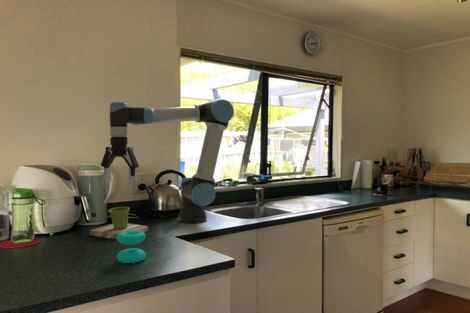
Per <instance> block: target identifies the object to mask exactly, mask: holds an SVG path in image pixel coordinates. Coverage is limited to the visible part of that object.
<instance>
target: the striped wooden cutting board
mask: <svg viewBox="0 0 470 313" xmlns="http://www.w3.org/2000/svg"><path fill="white" fill-rule="evenodd" d="M130 230H138V231H142V232H144V233H146V231H147V232H148V231H149V226H148V225H141V224H134V223H128V226H127V227H126V228H124V229H114V227H113V223H112V224H111V223H110V224H107V225H105V226H99V227H97V228H93V229H90V232H89V234H90V236H94V237H99V238H105V239H111V238H112V240H117V235H118V234H119V233H121V232H124V231H130Z"/></svg>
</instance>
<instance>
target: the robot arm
mask: <svg viewBox="0 0 470 313" xmlns="http://www.w3.org/2000/svg"><path fill="white" fill-rule="evenodd" d="M234 113H235V110H234V105H233V104H232V103H231V101H229V100H227V99H225V98H216V99H214V100H211V101H206V102H203V103H196V104H194V105H192V106H177V107H176V106H175V107H174V106H173V107H155V108H152V107H146V106H145V107H137V106H136V107H132V106H128V104H127V102H122V101H113V102H111V103H110V105H109V130H110V131H109V135H110V138H109V140H110V142H109V144H110V145H111V146H106V147H105V152H104V155H103V158H102V160H101V163H100V167H103V169H104V176H105V178H104V179H105V183H111V182H112V173H111V172H112V171H111V170H112V168H111V165H112V164H113V162H114V160H115V159H116V158H117V157H119V158H122V159H123V160H124V161H125V163H126V164H127V166H128V168H129V169H128V184H129V185H130V184H134V183H135V176H136V169H137V168H139V167H140V165H139V163H138V161H137V159H136V155H135V153H134V148H133V147H132V146H128V143H129V142H128V137H127V136H128V124H132V125H134V126H137V125H149V124H151V125H152V124H161V123H162V124H164V123H166V124H167V123H179V122H180V123H181V122H196V123H204V124H205V126H206V130H205V134H204V138H203V143H202V147H201V151H200V156H199V160H198V165H197V170H196V173H195V174H193V175H192V177H184V178H182V179H181V182H180V183H181V184H180V190H181V192H180V193H181V206H180V210H179V213H178V216H177V217H178V218H177V222H179V223H183V224H200V223H205V222H206V221H207V218H208V216H207V212H206V211H205V206H208V205H211V204H212V203H213V201H214V200H215V198H216V189H215V184H216V180H215V178H214V175H215V170H216V165H217V161H218V157H219V151H220V148H221V143H222V139H223V135H224V131H225V130H227V129H228V126H229V122H230V121H231V120H232V119H233V117H234Z"/></svg>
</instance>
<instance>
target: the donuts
mask: <svg viewBox="0 0 470 313" xmlns="http://www.w3.org/2000/svg"><path fill="white" fill-rule="evenodd" d="M145 239H146V232H142V231H138V230H130V231H124V232H121V233H119V234H118V235H117V239H116V241H117V242H118V243H120V244H122V245H127V246H131V245H133V246H134V245H137V244H141V243H142V242H144V241H145ZM146 256H147V255H146V252H145V251H144V250H143V249H142V248H141V249H140V248H126V249H123V250H121V251H119V252H118V253H117V255H116V260H117V262H119V263H121V262H122V263H121V264H124V263H133V264H136V263H135V262H138V263H140V262H139V261H141V262H143V261H144V260H145V259H146ZM142 260H143V261H142Z"/></svg>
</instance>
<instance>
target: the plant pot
mask: <svg viewBox="0 0 470 313" xmlns="http://www.w3.org/2000/svg"><path fill="white" fill-rule="evenodd" d="M107 212H109V215H110V218H111V222H112V224H113V227H114V229H124V228H126V227H127V226H128V224H129V212H130V207H129V206H118V207H117V206H116V207H112V208H110V209H108V210H107Z"/></svg>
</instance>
